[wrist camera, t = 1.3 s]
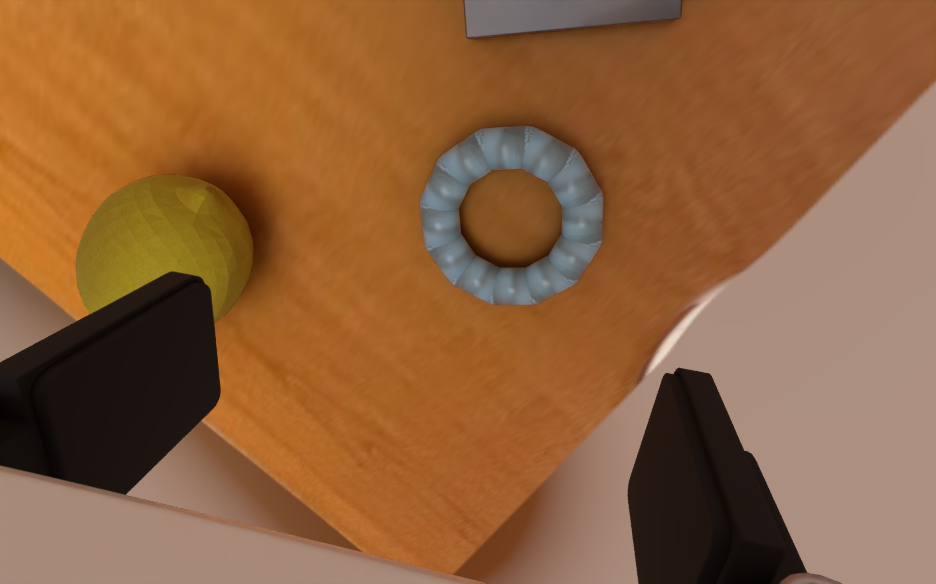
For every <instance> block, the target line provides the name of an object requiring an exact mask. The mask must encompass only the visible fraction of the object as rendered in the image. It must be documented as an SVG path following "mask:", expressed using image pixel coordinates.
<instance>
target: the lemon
mask: <svg viewBox="0 0 936 584" xmlns="http://www.w3.org/2000/svg"><path fill="white" fill-rule="evenodd" d="M253 258H254V251H253V239H252V235H251V232H250V229H249V225H248V222H247V221H246V219H245V217H244V216H243V214H242V213H241V212H240V210H239V209H238V207H237V206H236V205H235V204H234V202H233V201H232V200H231V199H230V198H229V197H228V196H227V195H226V193H225V192H223V191H222V190H220V189H219V188H218V187H216V186H214V185H212V184H210V183H208V182H206V181H203V180H201V179H197V178H192V177H186V176H180V175H174V174H171V175H154V176H149V177H145V178H142V179H139V180H137V181H134V182H132V183H129V184H128V185H126V186H125V187H123V188H121V189H120V190H118V191H116V192H115V193H113V194H112V195H110V196H109V197H108V198H107V199H106V200H105V201H104V202H103V203H102V204H101V205H100V207H99V208H98V209H97V211H96V212H95V214H94V215H93V217H92V218H91V220H90V221H89V223H88V225H87V227H86V229H85V231H84V233H83V236H82V238H81V241H80V244H79V248H78V251H77V256H76V277H77V286H78V289H79V292H80V295H81V298H82V300H83V303H84V305H85V307H86V308H87V310H88V312H89V313H90V314H91V313H93V312H95V311H97V310H99V309H101V308H103V307H104V306H106V305H108V304H110V303H112V302H114V301H116V300H117V299H119V298H121V297H123V296H125V295H127V294H129V293H130V292H132V291H134V290H136V289H138V288H140V287H142V286H144V285H145V284H147V283H149V282H151V281H153V280H155V279H157V278H158V277H160V276H162V275H164V274H166V273H168V272H171V271H174V272H180V273H185V274H190V275H195V276H200V277H201V278H202V279H203V280H204V282H205V284H206V285H208V286H209V287H210V289H211V295H212V306H213V316H214V323H216V322H217V321H218V320H220V319H221V318H222V317H223V316H224V315H226V314H227V313H228V312H229V310H230V309H231V308H232V307H233V306H234V304H235V303H236V301H237V300H238V298H239V297H240V295H241V293H242V292H243V290H244V288H245V287H246V285H247V283H248V280H249V277H250V274H251V269H252V264H253Z"/></svg>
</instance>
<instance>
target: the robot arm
mask: <svg viewBox="0 0 936 584" xmlns="http://www.w3.org/2000/svg"><path fill="white" fill-rule="evenodd" d="M220 390H221V389H220V379H219V368H218V358H217V347H216V337H215V326H214V316H213V306H212V295H211V289H210V287H209V286H208V285H206V284H205V282H204V280H203V279H202V278H201V277H200V276H195V275H190V274H185V273H180V272H174V271H171V272H168V273H166V274H164V275H162V276H160V277H158V278H157V279H155V280H153V281H151V282H149V283H147V284H145V285H144V286H142V287H140V288H138V289H136V290H134V291H132V292H130V293H129V294H127V295H125V296H123V297H121V298H119V299H117V300H116V301H114V302H112V303H110V304H108V305H106V306H104V307H103V308H101V309H99V310H97V311H95V312H93V313H91V314H89V315H88V316H86V317H84V318H82V319H80V320H78V321H76V322H75V323H73V324H71V325H69V326H67V327H65V328H64V329H61V330H60V331H58V332H56V333H54V334H52V335H50V336H48V337H47V338H45V339H43V340H41V341H39V342H37V343H35V344H34V345H32V346H30V347H28V348H26V349H24V350H22V351H21V352H19V353H17V354H15V355H13V356H11V357H10V358H7V359H6V360H4V361H2V362H0V584H486V583H483V582H479V581H474V580H471V579H466V578H462V577H458V576H455V575H451V574H447V573H443V572H439V571H435V570H431V569H427V568H423V567H419V566H415V565H411V564H407V563H403V562H399V561H395V560H391V559H387V558H383V557H379V556H375V555H371V554H367V553H363V552H359V551H355V550H350V549H346V548H342V547H338V546H334V545H330V544H326V543H321V542H318V541H313V540H310V539H305V538H302V537H298V536H293V535H289V534H285V533H281V532H277V531H272V530H269V529H264V528H260V527H256V526H253V525H248V524H244V523H240V522H236V521H232V520H228V519H223V518H219V517H215V516H211V515H207V514H203V513H199V512H195V511H190V510H187V509H183V508H178V507H174V506H170V505H166V504H161V503H157V502H153V501H149V500H145V499H140V498H136V497H132V496H128V495H126V494H127V493H128V492H129V491H130V490H131V489H132V488H133V487H134V486H135V485H136V484H137V483H138V482H139V481H140V480H141V479H142V478H143V477H144V476H145V475H146V474H147V473H148V472H149V471H150V470H151V469H152V468H153V467H154V466H155V465H156V464H157V463H158V462H159V461H160V460H161V459H162V458H163V457H165V456H166V455H167V453H168V452H169V451H170V450H172V449H173V448H174V447H175V446H176V445H177V444H178V443H179V442H180V441H181V440H182V439H183V438H184V437H185V435H187V434H188V433H189V432H190V431H191V430H192V429H193V428H194V427H195V426H196V425H197V424H198V423H199V422H200V421H201V420H202V419H203V418H204V417H205V416H206V415H207V414H208V413H209V412H210V411H211V410H212V409H213V408H214V407H215V406H216V404H217V402H218V400H219V398H220ZM628 504H629V512H630V519H631V527H632V536H633V543H634V551H635V559H636V567H637V575H638V583H639V584H841V583H840V582H837V581H834V580H832V579H829V578H827V577H824V576H821V575H815V574H809V573H807V571H806V569H805V567H804V565H803V562H802V560H801V558H800V556H799V554H798V551H797V549H796V547H795V545H794V543H793V541H792V538H791V536H790V534H789V532H788V530H787V527H786V525H785V523H784V521H783V519H782V516H781V514H780V512H779V510H778V508H777V505H776V503H775V501H774V499H773V497H772V494H771V492H770V490H769V488H768V486H767V483H766V481H765V479H764V477H763V475H762V472H761V470H760V468H759V466H758V464H757V461H756V460H755V458H754V457H753V455H752V454H751V453H749V452H748V451H744V449H743V447H742V445H741V442H740V440H739V438H738V435H737V433H736V431H735V428H734V426H733V424H732V421H731V419H730V417H729V415H728V412H727V410H726V408H725V405H724V403H723V401H722V399H721V396H720V394H719V392H718V390H717V387H716V385H715V383H714V380H713V378H712V376H711V375H710V374H709V373H704V372H699V371H693V370H688V369H683V368H677V369H676V371H675V372H674V374H669V373H666V374H665V375H664V376H663V378H662V381H661V384H660V388H659V391H658V393H657V396H656V400H655V403H654V406H653V409H652V412H651V415H650V418H649V421H648V424H647V427H646V430H645V433H644V436H643V439H642V442H641V446H640V449H639V452H638V455H637V458H636V461H635V464H634V467H633V470H632V473H631V477H630V480H629V485H628Z"/></svg>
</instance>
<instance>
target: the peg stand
mask: <svg viewBox="0 0 936 584" xmlns="http://www.w3.org/2000/svg"><path fill="white" fill-rule="evenodd" d="M681 11H682V0H464V13H465V27H466V38H467V39H484V38H495V37H505V36H516V35H527V34H538V33H548V32H559V31H570V30H581V29H592V28H602V27H613V26H624V25H635V24H646V23H656V22H667V21H675V20H678V19H680V18H681Z"/></svg>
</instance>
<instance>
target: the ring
mask: <svg viewBox="0 0 936 584" xmlns="http://www.w3.org/2000/svg"><path fill="white" fill-rule="evenodd" d="M511 169H522V170H524V171H526V172H528V173H530V174H532V175H534V176H536V177H538V178H539V179H541V180H543V181H545V182H547V183H548V185H549V187H550V188H551V190H552V191H553V193H554V195H555V196H556V198H557V199H558V201H559V203H560V204H561V206H562V233H561V235H560V237H559V238H558V240H557V242H556V243H555V245H554V247H553V248H552V250H551V252H550V253H549V255H547V256H545V257H544V258H542V259H540V260H538V261H536V262H535V263H533V264H531V265H529V266H527V267H498V266H496V265H494V264H492V263H490V262H488V261H486V260H484V259H482V258H480V257H478V256H477V255H475V253H474V252H473V250H472V249H471V247H470V246H469V244H468V243H467V241H466V240H465V238H464V237H463V236H462V234H461V225H460V214H459V207H460V205H461V203H462V201H463V199H464V197H465V195H466V193H467V191H468V189H469V187H470V185H471V184H473V183H474V182H476V181H477V180H479V179H480V178H482V177H483V176H485V175H486V174H488V173H489V172H491V171H493V170H511ZM603 201H604V199H603V192H602V190H601V188H600V187H599V185H598V183H597V181H596V180H595V178H594V176H593V175H592V173H591V171H590V170H589V168H588V166H587V165H586V163H585V161H584V159H583V158H582V156H581V154H580V153H579V152H578V151H577V150H576V149H575V148H574V147H572V146H570V145H568V144H566V143H564V142H563V141H561V140H559V139H557V138H555V137H553V136H551V135H549V134H547V133H546V132H544V131H542V130H540V129H538V128H536V127H533V126H509V127H493V128H482V129H479V130H477V131H475V132H474V133H472V134H471V135H470V136H468V137H467V138H465V139H464V140H462V141H461V142H459V143H458V144H457V145H455V146H454V147H452V148H451V149H449V150H448V151H447V152H445V153H444V154H442V155H441V156H440V157H439V159H438V160H437V162H436V164H435V166H434V169H433V171H432V173H431V176H430V178H429V180H428V182H427V185H426V187H425V189H424V191H423V194H422V196H421V199H420V212H421V221H422V230H423V238H424V245H425V248H426V250H427V251H428V253H429V254H430V256H431V257H432V258H433V260H434V261H435V263H436V264H437V266H438V267H439V268H440V270H441V271H442V273H443V274H444V275H445V277H446V278H447V280H448V281H449V282H450V283H451V284H452V285H454V286H455V287H457V288H459V289H461V290H463V291H465V292H467V293H469V294H471V295H473V296H475V297H477V298H479V299H481V300H482V301H484V302H486V303H489V304H493V305H535V304H538V303H540V302H542V301H544V300H546V299H548V298H550V297H552V296H554V295H556V294H558V293H559V292H561V291H563V290H565V289H567V288H569V287H571V286H573V285H574V284H576V283H577V282H578V280H579V279H580V278H581V276H582V274H583V273H584V271H585V270H586V268H587V267H588V265H589V264H590V262H591V260H592V259H593V257H594V256H595V254H596V253H597V251H598V249H599V248H600V246H601V244H602V239H603Z"/></svg>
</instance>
